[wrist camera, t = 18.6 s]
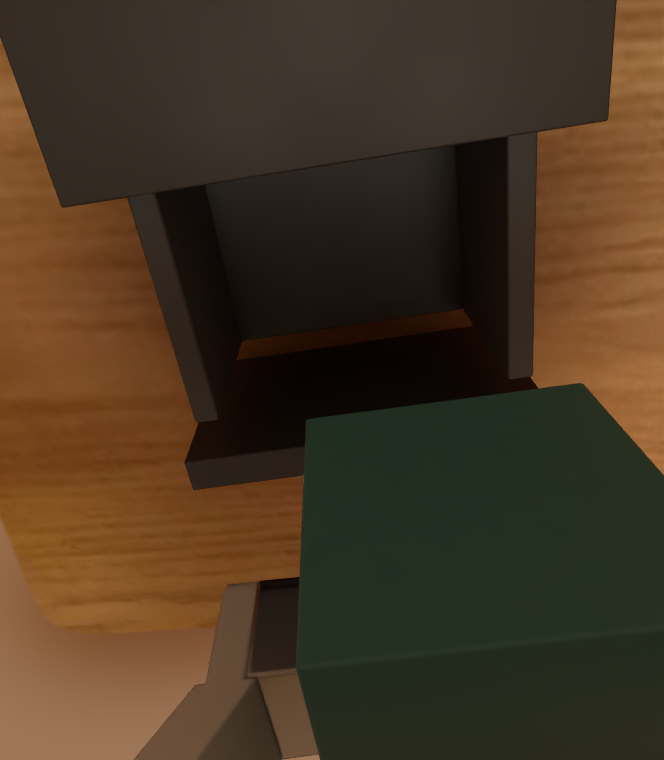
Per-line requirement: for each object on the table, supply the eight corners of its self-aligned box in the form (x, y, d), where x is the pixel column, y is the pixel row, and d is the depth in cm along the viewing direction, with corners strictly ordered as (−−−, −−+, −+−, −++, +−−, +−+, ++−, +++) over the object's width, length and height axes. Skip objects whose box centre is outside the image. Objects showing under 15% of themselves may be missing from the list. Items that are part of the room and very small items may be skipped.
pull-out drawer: (493, 432, 28) (550, 546, 21) (247, 466, 29) (224, 587, 22) (484, -39, 19) (578, -110, 12) (129, 23, 20) (27, -11, 13)
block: (341, 607, 11) (354, 891, 7) (305, 417, 9) (294, 669, 5) (568, 581, 11) (707, 859, 7) (582, 381, 9) (790, 614, 5)
